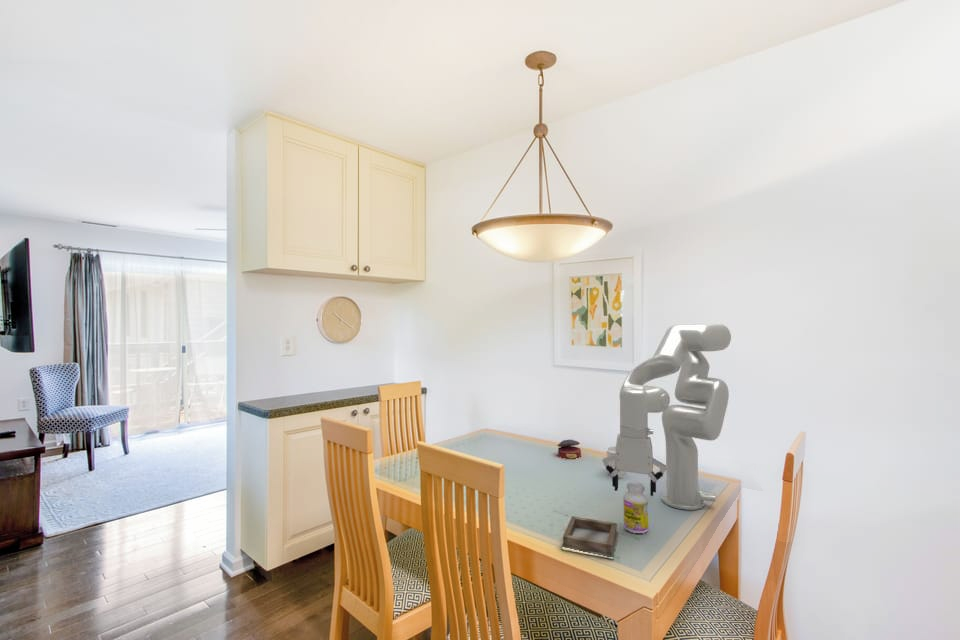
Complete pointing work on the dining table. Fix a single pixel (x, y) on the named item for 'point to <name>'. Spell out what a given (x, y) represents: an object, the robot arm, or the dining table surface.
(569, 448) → the canned food
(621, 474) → the dixie cup
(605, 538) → the shallow square brown tray
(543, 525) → the dining table surface
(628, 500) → the supplement bottle
